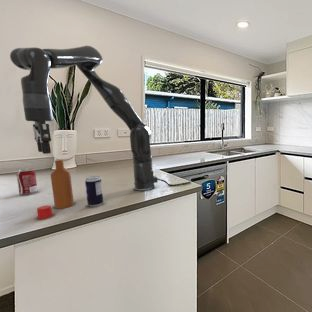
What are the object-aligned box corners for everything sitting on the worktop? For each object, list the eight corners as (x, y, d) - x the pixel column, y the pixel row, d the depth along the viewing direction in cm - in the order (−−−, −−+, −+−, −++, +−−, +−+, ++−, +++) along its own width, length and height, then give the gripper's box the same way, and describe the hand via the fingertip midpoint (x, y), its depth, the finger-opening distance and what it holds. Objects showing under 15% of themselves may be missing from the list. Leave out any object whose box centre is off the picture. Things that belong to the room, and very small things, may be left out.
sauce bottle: (74, 202, 98) (69, 158, 95) (73, 206, 93) (68, 160, 90) (55, 204, 95) (50, 159, 92) (53, 209, 89) (47, 162, 86)
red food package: (41, 192, 112) (38, 169, 111) (25, 196, 106) (21, 171, 104) (32, 190, 115) (29, 168, 113) (16, 194, 108) (12, 170, 107)
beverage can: (99, 201, 99) (97, 175, 97) (105, 204, 95) (103, 176, 94) (85, 205, 94) (82, 177, 92) (91, 208, 91) (88, 179, 89)
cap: (40, 220, 80) (38, 210, 79) (36, 217, 82) (35, 207, 81) (53, 216, 83) (52, 206, 82) (50, 213, 85) (49, 204, 85)
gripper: (21, 108, 81) (27, 152, 83) (26, 105, 71) (34, 155, 74) (47, 109, 86) (53, 150, 89) (55, 106, 77) (62, 153, 79)
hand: (44, 152), depth 81 cm, fingers open, 8 cm apart
